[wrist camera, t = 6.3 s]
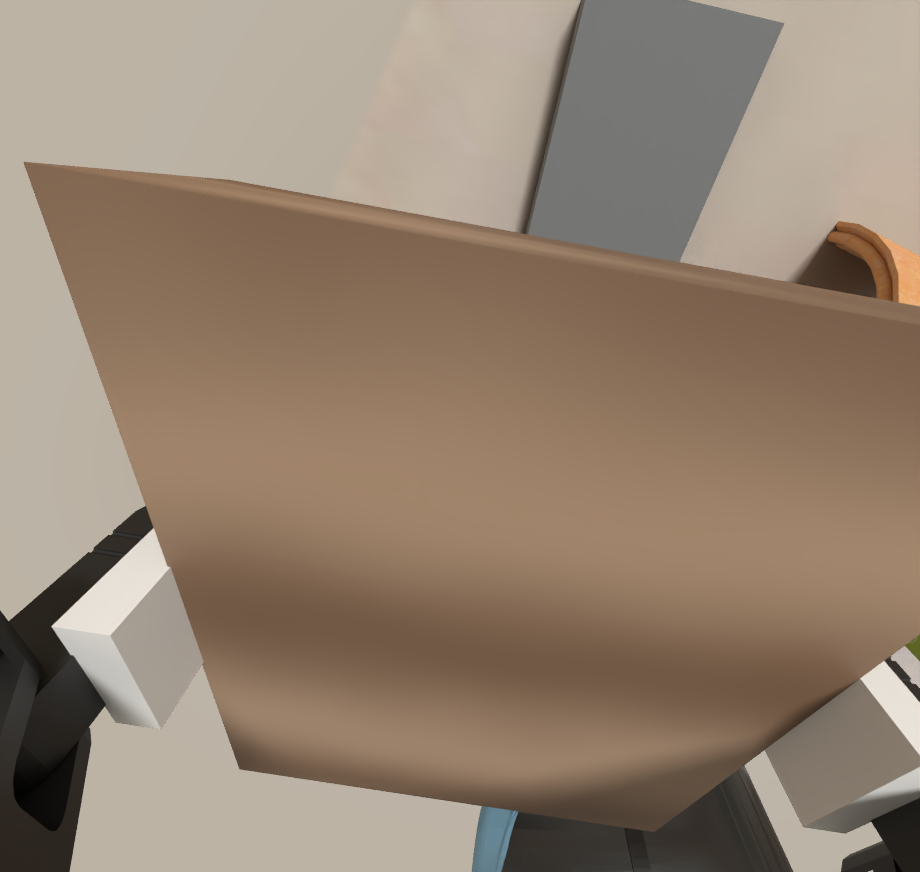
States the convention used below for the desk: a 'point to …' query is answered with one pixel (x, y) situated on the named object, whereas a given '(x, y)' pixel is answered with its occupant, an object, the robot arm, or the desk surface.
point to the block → (645, 121)
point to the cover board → (497, 489)
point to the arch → (882, 262)
